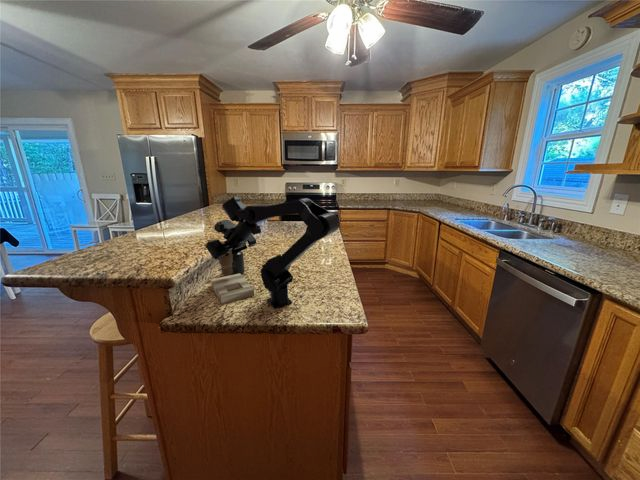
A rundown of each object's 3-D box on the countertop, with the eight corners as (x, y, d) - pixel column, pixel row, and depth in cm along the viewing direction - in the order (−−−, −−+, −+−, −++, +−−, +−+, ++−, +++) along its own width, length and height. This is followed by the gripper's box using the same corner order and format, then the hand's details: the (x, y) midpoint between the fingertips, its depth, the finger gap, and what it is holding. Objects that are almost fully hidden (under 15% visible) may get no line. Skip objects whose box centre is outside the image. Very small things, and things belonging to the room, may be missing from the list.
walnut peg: (235, 273, 94) (232, 243, 90) (222, 276, 91) (218, 245, 88) (231, 269, 97) (229, 240, 94) (219, 272, 95) (215, 242, 91)
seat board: (254, 295, 88) (253, 288, 87) (222, 304, 82) (221, 297, 82) (240, 279, 101) (239, 273, 100) (211, 285, 95) (210, 279, 94)
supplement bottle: (247, 273, 107) (246, 246, 104) (233, 277, 102) (230, 249, 99) (239, 268, 111) (237, 242, 108) (225, 272, 107) (222, 246, 103)
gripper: (248, 209, 94) (230, 234, 102) (205, 217, 78) (188, 245, 86) (265, 232, 92) (246, 255, 100) (225, 245, 77) (205, 271, 85)
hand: (223, 256), depth 93 cm, fingers closed on walnut peg, 5 cm apart
